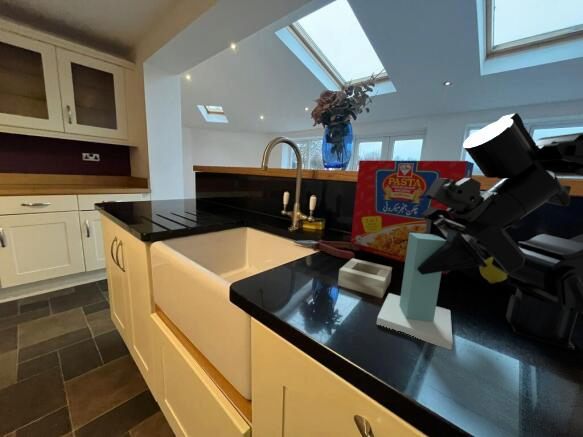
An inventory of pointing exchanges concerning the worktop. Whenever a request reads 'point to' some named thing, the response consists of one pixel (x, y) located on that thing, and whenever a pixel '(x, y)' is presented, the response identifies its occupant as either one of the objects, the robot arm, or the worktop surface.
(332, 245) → the pliers
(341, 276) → the socket block
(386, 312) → the pad
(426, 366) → the worktop surface
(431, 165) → the pasta box
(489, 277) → the lemon
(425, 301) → the post
